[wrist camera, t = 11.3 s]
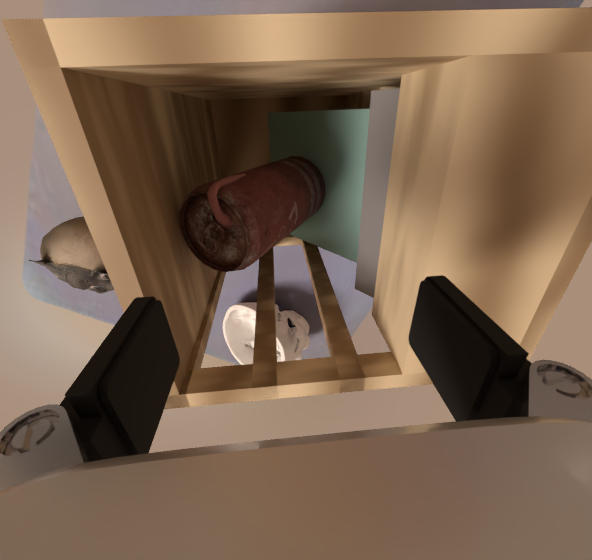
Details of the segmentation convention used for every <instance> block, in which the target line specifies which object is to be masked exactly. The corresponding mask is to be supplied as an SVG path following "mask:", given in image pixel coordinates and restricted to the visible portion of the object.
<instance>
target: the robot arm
mask: <svg viewBox="0 0 592 560" xmlns="http://www.w3.org/2000/svg"><path fill="white" fill-rule="evenodd" d="M408 338H409V344H410V346H411V348H412V350H413V351H414V353H415V355H416V356H417V358H418V360H419V361H420V363H421V365H422V366H423V368H424V369H425V371H426V373H427V374H428V376H429V378H430V379H431V381H432V383H433V384H434V386H435V387H436V389H437V391H438V392H439V394H440V396H441V397H442V399H443V401H444V402H445V404H446V406H447V407H448V409H449V411H450V412H451V414H452V415H453V417H454V419H455V420H456V422H446V423H435V424H426V425H415V426H404V427H393V428H383V429H373V430H363V431H353V432H343V433H333V434H323V435H314V436H303V437H293V438H284V439H274V440H264V441H255V442H245V443H236V444H227V445H217V446H208V447H199V448H189V449H181V450H172V451H163V452H156V453H149V450H150V447H151V444H152V441H153V438H154V435H155V433H156V430H157V427H158V424H159V421H160V418H161V416H162V413H163V410H164V407H165V404H166V402H167V399H168V396H169V393H170V390H171V387H172V385H173V382H174V379H175V376H176V373H177V370H178V368H179V364H180V357H179V353H178V350H177V347H176V344H175V341H174V338H173V335H172V332H171V329H170V326H169V323H168V320H167V317H166V314H165V311H164V307H163V304H162V302H161V301H160V300H156V298H155V297H153V296H150V297H137V298H135V299H134V300H133V301H132V302H131V304H130V305H129V307H128V308H127V309H126V311H125V312H124V313H123V315H122V316H121V318H120V319H119V320H118V322H117V323H116V325H115V326H114V327H113V329H112V330H111V332H110V333H109V335H108V336H107V337H106V338H105V340H104V341H103V343H102V344H101V346H100V347H99V348H98V350H97V351H96V352H95V354H94V355H93V356H92V358H91V359H90V361H89V362H88V364H87V365H86V366H85V368H84V369H83V370H82V372H81V373H80V374H79V376H78V377H77V379H76V380H75V381H74V383H73V384H72V386H71V387H70V388H69V390H68V391H67V392H66V394H65V396H66V397H65V398H64V400H63V401H62V402H61V404H60V405H46V406H41V407H38V408H35V409H33V410H31V411H28V412H26V413H24V414H23V415H21V416H20V417H18V418H16V419H15V420H14V421H12V422H11V423H10V424H8V425H7V426H6V427H5V428H4V429H3V430H2V431H1V432H0V560H592V380H591V379H590V378H589V377H587V376H586V375H585V374H583V373H582V372H580V371H578V370H576V369H575V368H573V367H571V366H568V365H565V364H563V363H559V362H556V361H551V360H540V361H535V362H534V363H531V362H529V361H528V360H527V359H526V358H527V356H528V354H529V353H528V352H527V351H525V350H524V349H523V348H522V347H521V346H520V345H519V344H518V343H517V342H516V341H515V340H514V339H512V338H511V337H510V336H509V335H508V334H507V333H506V332H505V331H504V330H503V329H502V328H501V327H500V326H498V325H497V324H496V323H495V322H494V321H493V320H492V319H491V318H490V317H489V316H488V315H487V314H485V313H484V312H483V311H482V310H481V309H480V308H479V307H478V306H477V305H476V304H475V303H474V302H472V301H471V300H470V299H469V298H468V297H467V296H466V295H465V294H464V293H463V292H462V291H461V290H459V289H458V288H457V287H456V286H455V285H454V284H453V283H452V282H451V281H450V280H449V279H448V278H447V277H445V276H443V275H440V276H427V277H426V278H425V279H424V281H421V283H420V286H419V290H418V295H417V299H416V304H415V309H414V313H413V318H412V323H411V327H410V332H409V337H408Z"/></svg>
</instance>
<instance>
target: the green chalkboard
mask: <svg viewBox="0 0 592 560" xmlns="http://www.w3.org/2000/svg"><path fill="white" fill-rule="evenodd" d="M399 93H400V88H397V89H386V90H374V91H371V101H370V109H349V110H324V111H299V112H274V113H268V127H269V141H270V154H271V162H275V161H278V160H281V159H284V158H287V157H290V156H301V157H303V158H305V159H308V160H310V161H311V162H312V163H313V164H314V165H316V166H317V168H318V169H319V171H320V172H321V174H322V176H323V179H324V183H325V198H324V201H323V204H322V206H321V207H320V208H319V210H318V211H317V212H316V213H315V214H314V215H312V216H311V217H310V218H309V219H307V220H306V221H305V222H304V223H302V224H301V225H300V226H299V227H297V228H296V229H295V230H294V231H292V232H291V233H290V235H292V236H294V237H297V238H299V239H301V240H304V241H306V242H309V243H311V244H313V245H316V246H318V247H321V248H323V249H325V250H328V251H330V252H333V253H335V254H337V255H340V256H342V257H345V258H347V259H349V260H352V261H354V262H357V270H356V282H355V289H357V290H359V291H361V292H363V293H365V294H367V295H369V296H371V297H373V298H374V293H375V285H376V277H377V269H378V261H379V253H380V245H381V237H382V229H383V221H384V213H385V205H386V197H387V189H388V181H389V173H390V165H391V157H392V149H393V141H394V133H395V125H396V117H397V109H398V101H399Z"/></svg>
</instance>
